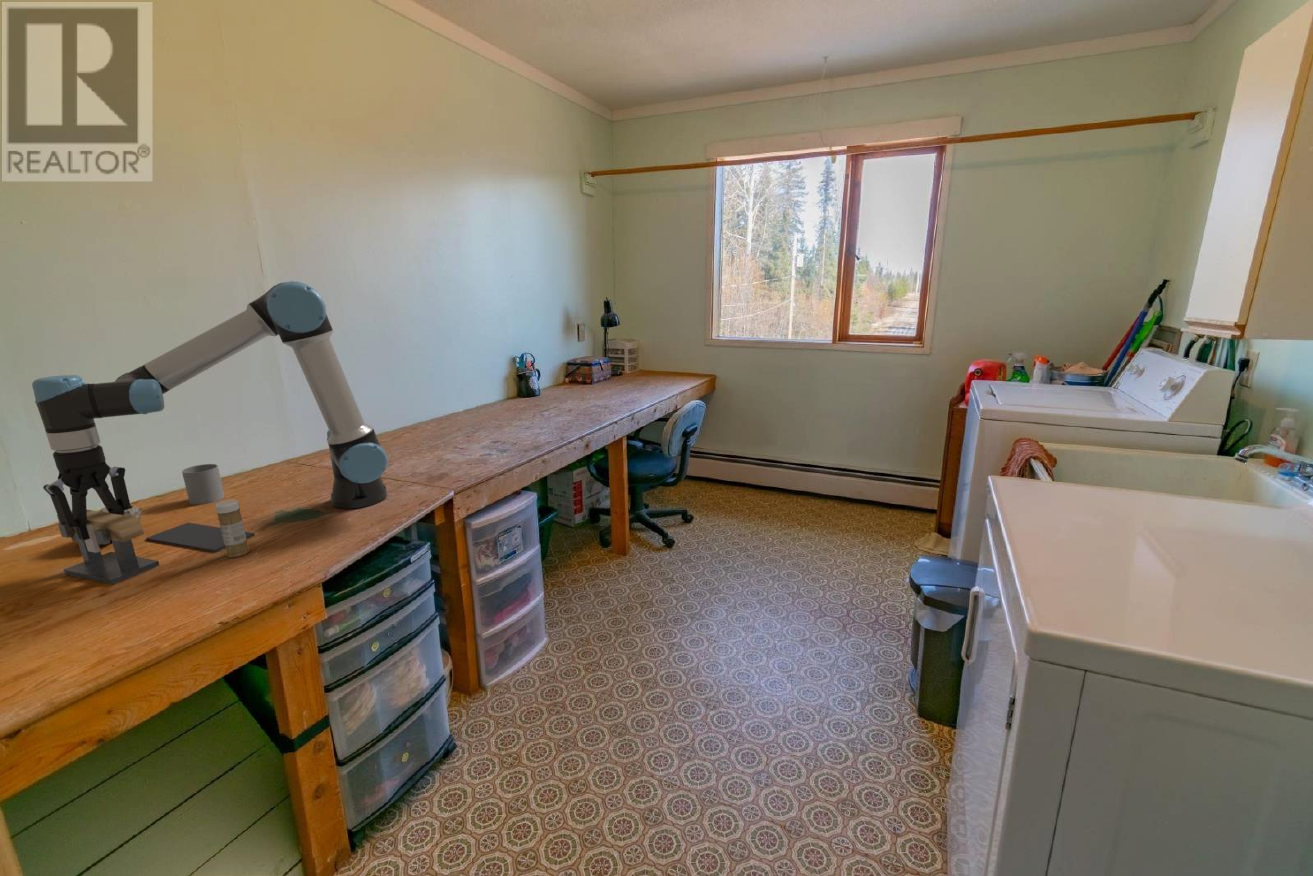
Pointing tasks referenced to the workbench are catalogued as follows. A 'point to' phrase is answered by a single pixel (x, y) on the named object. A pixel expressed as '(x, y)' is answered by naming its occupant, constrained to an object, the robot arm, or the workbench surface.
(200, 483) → the cup
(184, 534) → the mat
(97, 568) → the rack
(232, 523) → the sprinkles bottle
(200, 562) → the workbench surface
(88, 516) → the rail
